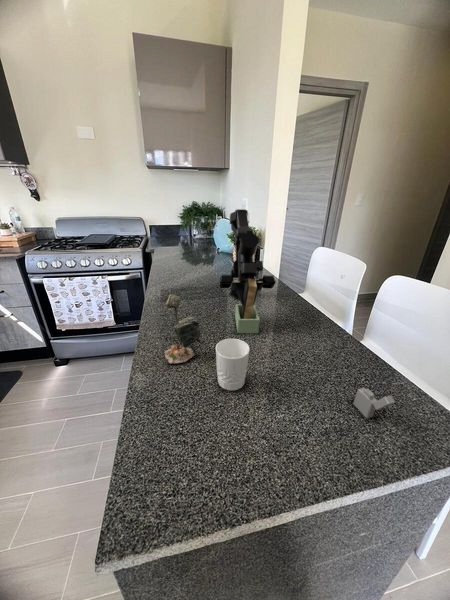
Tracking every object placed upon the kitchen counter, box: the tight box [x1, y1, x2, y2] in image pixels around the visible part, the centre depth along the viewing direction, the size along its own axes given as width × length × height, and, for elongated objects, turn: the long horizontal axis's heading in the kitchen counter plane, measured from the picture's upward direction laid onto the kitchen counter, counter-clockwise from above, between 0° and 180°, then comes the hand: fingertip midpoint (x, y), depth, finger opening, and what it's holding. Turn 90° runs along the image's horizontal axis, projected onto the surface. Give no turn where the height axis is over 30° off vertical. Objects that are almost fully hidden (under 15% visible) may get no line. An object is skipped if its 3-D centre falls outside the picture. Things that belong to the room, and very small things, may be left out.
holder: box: [234, 303, 261, 334], centre depth 86 cm, size 11×7×5 cm, turn 2°
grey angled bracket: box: [352, 387, 396, 419], centre depth 52 cm, size 7×2×8 cm, turn 15°
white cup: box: [215, 338, 250, 391], centre depth 60 cm, size 8×8×10 cm
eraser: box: [240, 278, 257, 319], centre depth 84 cm, size 3×6×15 cm, turn 179°
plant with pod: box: [163, 293, 203, 365], centre depth 67 cm, size 8×11×20 cm
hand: (248, 305), depth 83 cm, fingers closed on eraser, 3 cm apart
